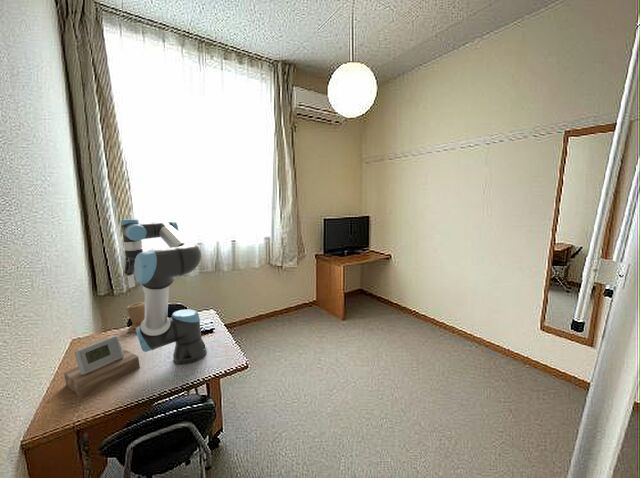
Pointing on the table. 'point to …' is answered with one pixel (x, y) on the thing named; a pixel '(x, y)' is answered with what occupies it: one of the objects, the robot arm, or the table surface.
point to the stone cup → (136, 315)
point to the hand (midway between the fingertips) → (139, 289)
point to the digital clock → (99, 354)
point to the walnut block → (101, 375)
